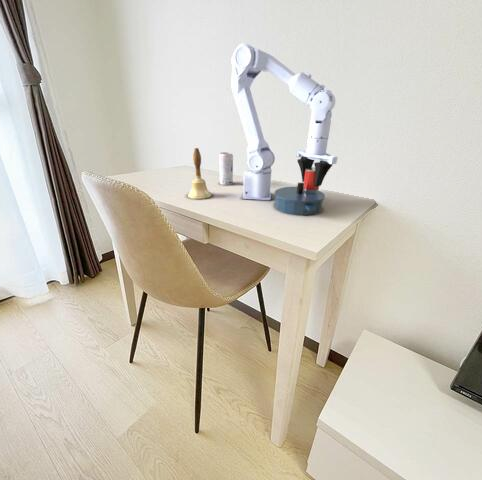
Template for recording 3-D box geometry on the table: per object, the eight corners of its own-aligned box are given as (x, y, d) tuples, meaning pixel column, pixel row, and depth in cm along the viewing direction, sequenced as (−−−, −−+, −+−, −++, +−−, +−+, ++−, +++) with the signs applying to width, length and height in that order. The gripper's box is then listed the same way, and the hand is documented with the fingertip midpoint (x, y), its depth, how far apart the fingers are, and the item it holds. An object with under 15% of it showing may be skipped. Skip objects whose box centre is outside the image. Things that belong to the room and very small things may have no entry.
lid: (284, 206, 73) (285, 191, 71) (268, 190, 86) (269, 178, 84) (334, 203, 75) (337, 189, 73) (311, 188, 89) (312, 176, 87)
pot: (287, 220, 72) (289, 206, 70) (267, 198, 90) (268, 187, 88) (334, 217, 75) (337, 204, 73) (305, 196, 92) (307, 185, 90)
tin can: (303, 191, 80) (306, 170, 77) (302, 187, 85) (304, 167, 82) (319, 192, 80) (322, 171, 77) (317, 187, 84) (320, 167, 81)
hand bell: (183, 197, 89) (178, 149, 82) (195, 191, 96) (192, 146, 89) (204, 200, 87) (201, 150, 79) (215, 193, 93) (214, 147, 86)
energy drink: (233, 182, 109) (233, 152, 103) (231, 185, 104) (231, 154, 98) (220, 181, 109) (220, 152, 104) (218, 185, 104) (218, 154, 99)
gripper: (347, 139, 72) (338, 187, 78) (309, 135, 83) (304, 177, 89) (330, 140, 68) (322, 190, 74) (293, 135, 79) (288, 179, 85)
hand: (311, 183), depth 81 cm, fingers closed on tin can, 5 cm apart
